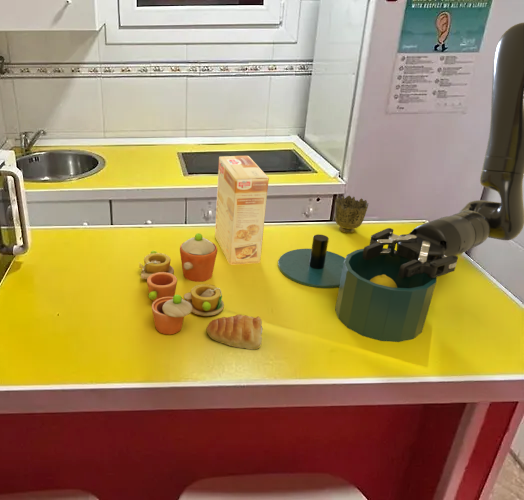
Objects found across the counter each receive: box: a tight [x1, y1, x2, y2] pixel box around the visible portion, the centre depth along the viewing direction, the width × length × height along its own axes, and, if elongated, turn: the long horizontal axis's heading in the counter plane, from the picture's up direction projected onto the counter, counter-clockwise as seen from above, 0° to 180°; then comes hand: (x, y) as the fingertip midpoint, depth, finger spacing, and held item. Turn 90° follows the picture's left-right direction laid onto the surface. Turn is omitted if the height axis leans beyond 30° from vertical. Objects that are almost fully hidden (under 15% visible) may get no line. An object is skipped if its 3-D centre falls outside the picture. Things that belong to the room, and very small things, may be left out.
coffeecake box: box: [214, 155, 270, 266], centre depth 111 cm, size 15×7×20 cm, turn 8°
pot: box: [334, 247, 438, 343], centre depth 90 cm, size 15×15×10 cm
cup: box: [334, 195, 369, 235], centre depth 122 cm, size 8×7×8 cm
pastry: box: [206, 314, 263, 350], centre depth 87 cm, size 9×7×4 cm
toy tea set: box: [138, 232, 225, 335], centre depth 96 cm, size 26×16×10 cm, turn 7°
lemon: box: [370, 274, 397, 288], centre depth 91 cm, size 6×6×8 cm
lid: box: [277, 234, 346, 289], centre depth 106 cm, size 16×16×8 cm
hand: (382, 262), depth 86 cm, fingers open, 6 cm apart
